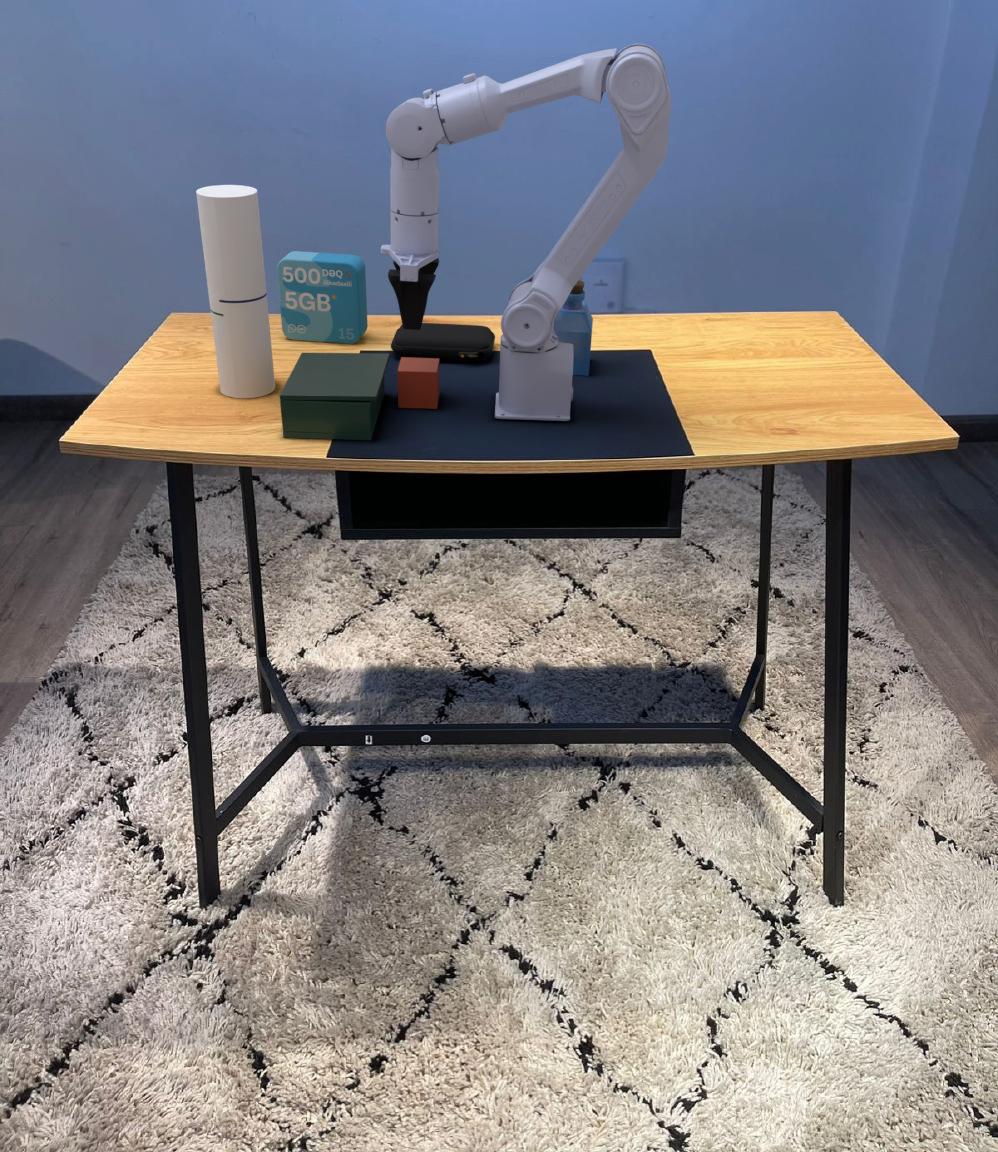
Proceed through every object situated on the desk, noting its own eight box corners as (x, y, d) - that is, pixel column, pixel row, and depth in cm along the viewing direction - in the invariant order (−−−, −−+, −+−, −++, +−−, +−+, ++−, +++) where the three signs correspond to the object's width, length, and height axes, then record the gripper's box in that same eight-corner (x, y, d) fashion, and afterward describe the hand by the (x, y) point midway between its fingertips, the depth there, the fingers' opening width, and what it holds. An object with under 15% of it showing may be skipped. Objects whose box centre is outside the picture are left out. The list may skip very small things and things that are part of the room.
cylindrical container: (262, 400, 132) (242, 199, 119) (210, 395, 133) (185, 194, 120) (283, 381, 138) (266, 187, 125) (233, 375, 139) (211, 183, 126)
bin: (384, 394, 135) (383, 359, 132) (371, 440, 123) (369, 403, 120) (304, 392, 135) (302, 357, 132) (283, 437, 123) (279, 400, 120)
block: (439, 394, 136) (439, 358, 133) (437, 409, 131) (436, 372, 129) (401, 393, 136) (401, 357, 133) (398, 407, 131) (397, 370, 129)
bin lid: (389, 357, 132) (389, 353, 132) (376, 401, 120) (376, 396, 120) (302, 356, 132) (301, 352, 132) (279, 399, 120) (279, 395, 120)
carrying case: (388, 363, 145) (491, 368, 144) (387, 342, 143) (492, 347, 143) (398, 338, 154) (495, 342, 153) (397, 318, 152) (495, 322, 152)
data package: (282, 339, 152) (275, 257, 146) (291, 329, 156) (285, 250, 149) (361, 345, 151) (357, 263, 144) (368, 335, 155) (365, 255, 148)
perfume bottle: (589, 360, 148) (596, 277, 142) (588, 375, 143) (595, 290, 137) (547, 357, 149) (551, 275, 142) (544, 372, 143) (549, 287, 137)
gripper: (387, 195, 127) (388, 303, 134) (373, 223, 114) (374, 340, 122) (444, 198, 127) (441, 306, 134) (436, 226, 115) (434, 343, 122)
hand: (413, 322), depth 128 cm, fingers open, 4 cm apart
